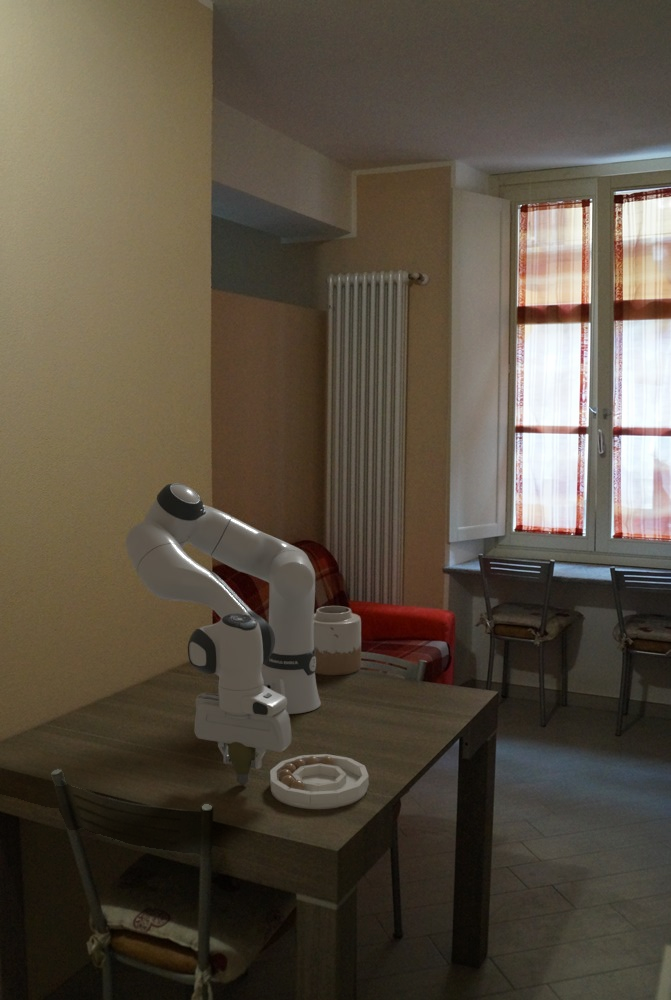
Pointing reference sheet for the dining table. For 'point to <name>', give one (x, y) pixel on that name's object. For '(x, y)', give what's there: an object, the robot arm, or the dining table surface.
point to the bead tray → (319, 781)
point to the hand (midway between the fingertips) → (242, 765)
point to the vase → (337, 640)
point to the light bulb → (241, 760)
